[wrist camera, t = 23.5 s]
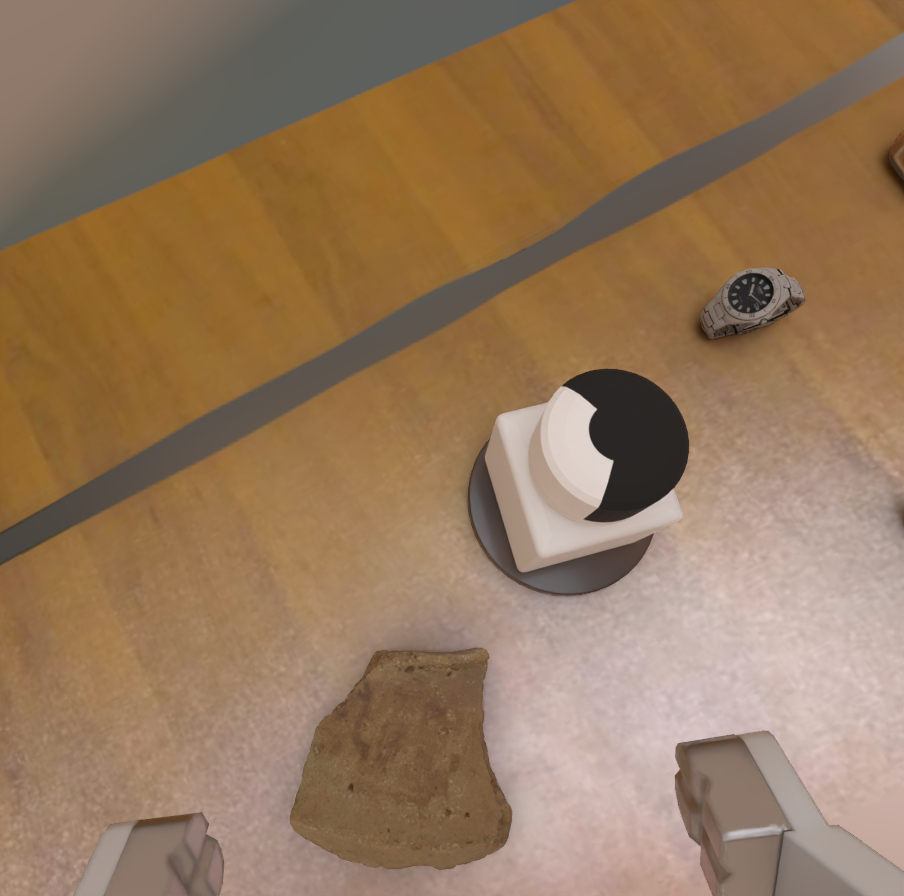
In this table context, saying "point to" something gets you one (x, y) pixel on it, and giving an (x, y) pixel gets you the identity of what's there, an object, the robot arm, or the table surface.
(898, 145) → the ornament
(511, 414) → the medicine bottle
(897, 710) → the table surface
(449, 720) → the pottery shard
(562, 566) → the round disc
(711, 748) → the robot arm
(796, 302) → the wristwatch
